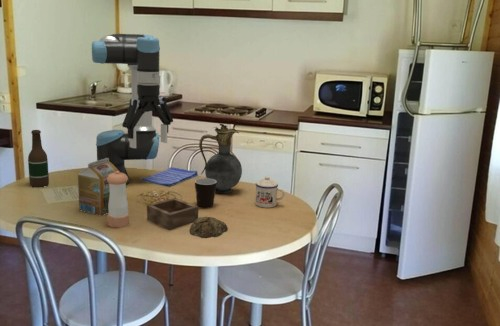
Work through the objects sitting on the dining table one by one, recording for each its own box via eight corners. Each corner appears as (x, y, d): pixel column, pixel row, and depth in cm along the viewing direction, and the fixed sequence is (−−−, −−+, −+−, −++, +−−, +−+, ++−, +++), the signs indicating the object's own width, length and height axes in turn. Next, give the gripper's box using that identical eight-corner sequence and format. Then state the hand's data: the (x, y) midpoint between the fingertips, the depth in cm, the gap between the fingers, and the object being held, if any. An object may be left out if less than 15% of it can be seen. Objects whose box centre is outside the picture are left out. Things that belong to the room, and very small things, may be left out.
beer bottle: (36, 182, 210) (32, 128, 204) (52, 183, 209) (49, 129, 203) (25, 187, 203) (21, 131, 197) (43, 188, 202) (39, 132, 196)
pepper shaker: (132, 225, 168) (131, 172, 163) (111, 229, 164) (110, 175, 159) (125, 218, 174) (123, 167, 169) (105, 222, 170) (103, 169, 165)
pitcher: (237, 197, 202) (239, 127, 195) (194, 192, 207) (195, 123, 199) (243, 189, 213) (246, 123, 205) (202, 185, 217) (204, 119, 209)
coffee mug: (212, 210, 186) (213, 185, 184) (191, 207, 188) (191, 183, 185) (220, 200, 197) (221, 177, 195) (200, 198, 199) (200, 175, 196)
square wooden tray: (147, 219, 174) (146, 205, 172) (175, 211, 183) (175, 197, 182) (169, 230, 165) (169, 215, 164) (198, 221, 175) (198, 206, 173)
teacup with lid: (252, 206, 192) (253, 178, 189) (257, 199, 201) (258, 172, 198) (281, 210, 190) (283, 182, 187) (285, 203, 198) (287, 175, 195)
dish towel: (199, 176, 232) (199, 170, 231) (169, 188, 212) (169, 182, 211) (170, 170, 240) (170, 165, 239) (139, 182, 219) (139, 176, 219)
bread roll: (200, 222, 174) (200, 209, 173) (231, 228, 170) (231, 215, 169) (182, 234, 163) (182, 220, 162) (214, 241, 159) (215, 227, 157)
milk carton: (99, 202, 189) (97, 155, 184) (120, 207, 184) (119, 159, 180) (79, 210, 180) (77, 161, 175) (101, 216, 175) (99, 165, 170)
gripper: (124, 86, 152) (125, 151, 157) (183, 83, 171) (182, 141, 176) (110, 84, 157) (112, 147, 162) (169, 81, 175) (169, 138, 181)
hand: (148, 144), depth 169 cm, fingers open, 13 cm apart
